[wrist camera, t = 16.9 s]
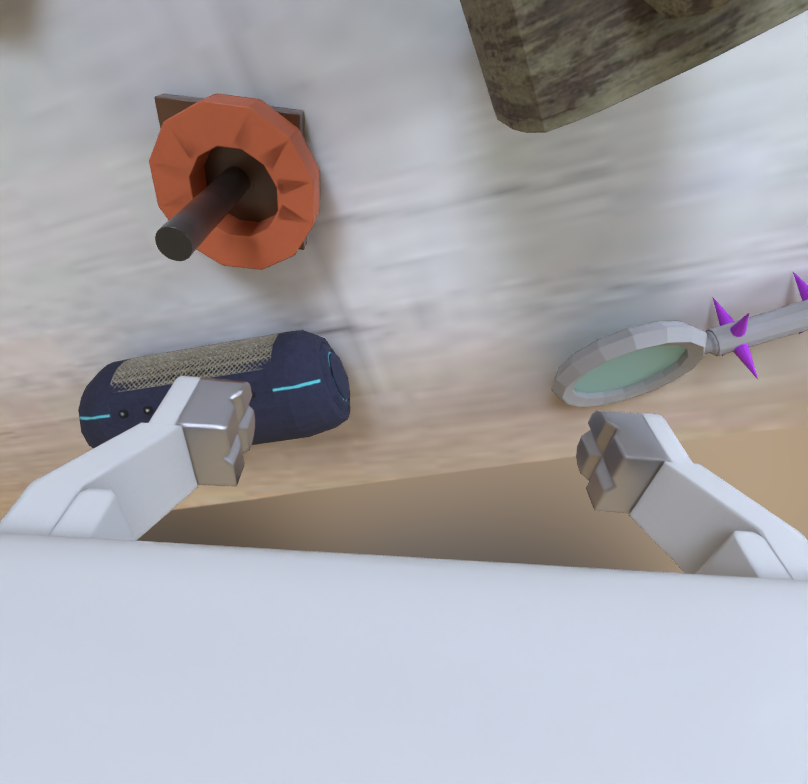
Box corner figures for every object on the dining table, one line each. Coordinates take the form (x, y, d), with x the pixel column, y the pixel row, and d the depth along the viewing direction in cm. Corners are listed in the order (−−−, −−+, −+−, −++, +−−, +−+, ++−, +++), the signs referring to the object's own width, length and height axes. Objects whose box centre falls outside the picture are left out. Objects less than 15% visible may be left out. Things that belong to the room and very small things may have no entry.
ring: (154, 84, 32) (133, 91, 29) (320, 107, 33) (313, 115, 30) (184, 243, 39) (169, 259, 37) (319, 259, 40) (313, 275, 37)
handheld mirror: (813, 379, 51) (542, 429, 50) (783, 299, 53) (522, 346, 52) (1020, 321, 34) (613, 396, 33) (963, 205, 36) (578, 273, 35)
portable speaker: (336, 303, 44) (321, 366, 36) (362, 385, 50) (354, 453, 43) (95, 345, 47) (34, 411, 39) (148, 417, 53) (104, 487, 46)
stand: (162, 93, 34) (46, 133, 23) (303, 109, 34) (256, 156, 23) (188, 231, 40) (107, 314, 29) (307, 243, 40) (271, 328, 30)
